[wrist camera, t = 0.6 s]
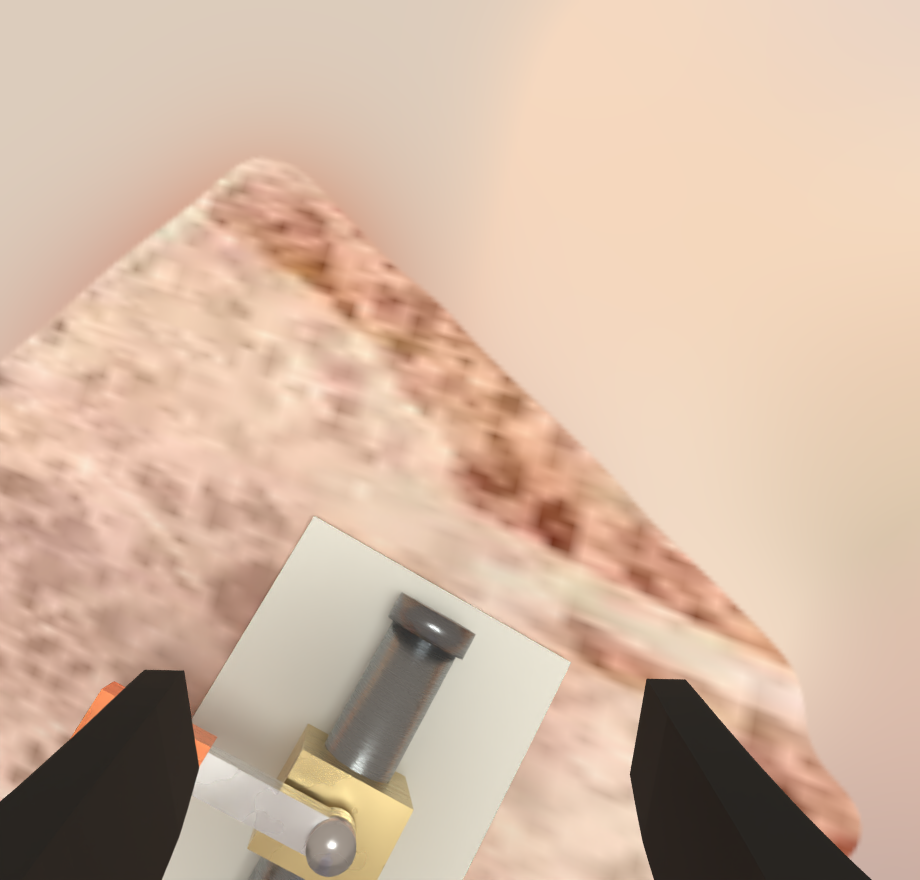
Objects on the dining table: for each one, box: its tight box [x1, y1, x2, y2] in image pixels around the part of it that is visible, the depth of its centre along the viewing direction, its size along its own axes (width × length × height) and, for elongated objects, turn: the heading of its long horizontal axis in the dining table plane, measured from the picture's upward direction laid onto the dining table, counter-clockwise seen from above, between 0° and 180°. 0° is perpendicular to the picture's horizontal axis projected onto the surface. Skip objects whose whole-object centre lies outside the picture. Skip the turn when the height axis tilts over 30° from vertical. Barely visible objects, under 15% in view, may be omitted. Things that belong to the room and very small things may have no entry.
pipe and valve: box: [247, 592, 476, 880], centre depth 29 cm, size 18×5×4 cm, turn 151°
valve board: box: [162, 516, 571, 880], centre depth 32 cm, size 20×14×1 cm
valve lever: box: [70, 681, 356, 877], centre depth 26 cm, size 11×2×2 cm, turn 61°
